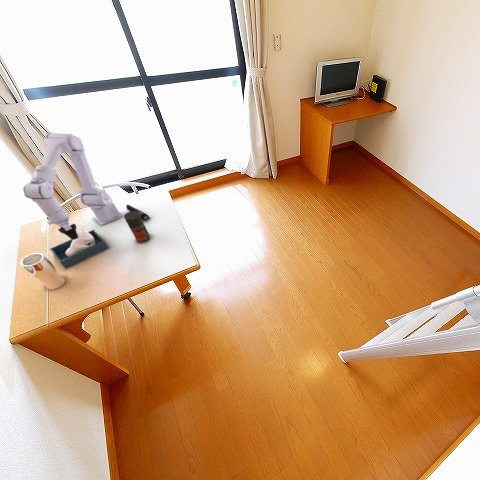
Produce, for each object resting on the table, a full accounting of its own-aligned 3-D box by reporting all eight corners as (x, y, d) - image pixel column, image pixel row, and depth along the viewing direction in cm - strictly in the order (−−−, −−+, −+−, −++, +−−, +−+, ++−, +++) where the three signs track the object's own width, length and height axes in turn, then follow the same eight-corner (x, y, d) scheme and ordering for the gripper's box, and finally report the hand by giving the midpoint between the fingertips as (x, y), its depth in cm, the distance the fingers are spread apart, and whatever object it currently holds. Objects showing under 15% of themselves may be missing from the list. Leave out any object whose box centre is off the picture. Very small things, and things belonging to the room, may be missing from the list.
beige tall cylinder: (43, 292, 110) (18, 268, 99) (46, 279, 114) (22, 255, 104) (65, 286, 113) (42, 263, 102) (67, 274, 117) (45, 250, 106)
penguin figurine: (90, 231, 123) (64, 250, 115) (101, 243, 129) (76, 262, 122) (80, 226, 124) (54, 245, 117) (91, 239, 131) (67, 257, 123)
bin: (98, 236, 133) (93, 229, 130) (108, 247, 129) (104, 241, 126) (55, 255, 123) (49, 248, 120) (65, 268, 119) (59, 262, 116)
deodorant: (133, 240, 133) (120, 217, 123) (143, 233, 137) (131, 209, 127) (143, 244, 132) (131, 221, 121) (153, 237, 136) (142, 213, 125)
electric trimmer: (132, 207, 150) (130, 202, 148) (150, 218, 145) (148, 213, 143) (126, 210, 148) (123, 206, 146) (144, 222, 143) (141, 217, 141)
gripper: (33, 206, 111) (54, 230, 120) (47, 222, 105) (67, 247, 114) (54, 198, 115) (72, 222, 124) (69, 214, 109) (86, 238, 119)
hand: (71, 234), depth 120 cm, fingers open, 7 cm apart
